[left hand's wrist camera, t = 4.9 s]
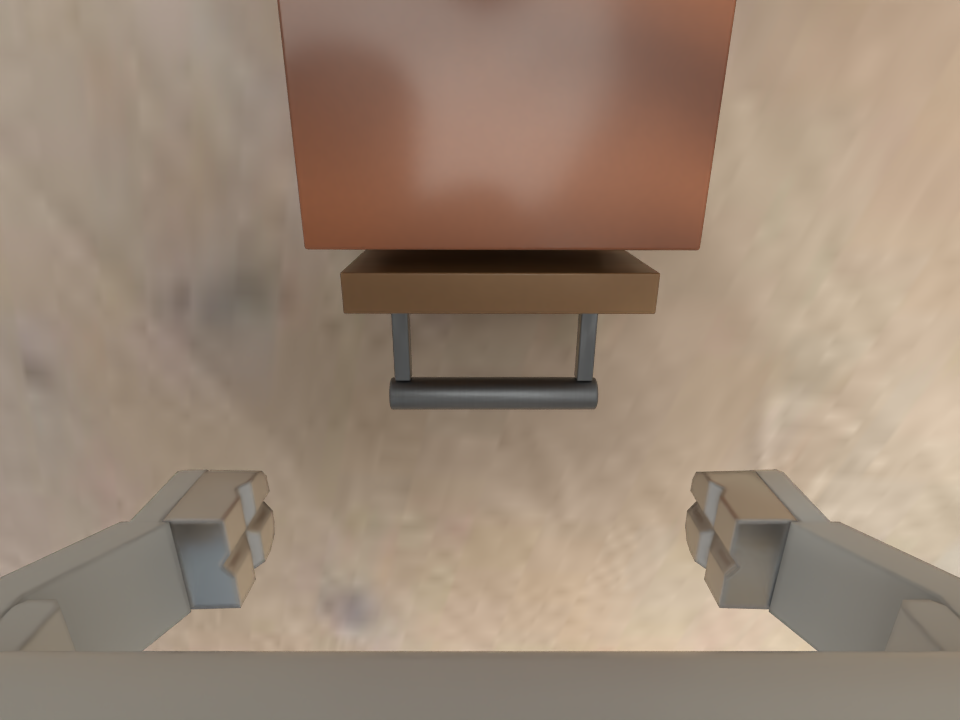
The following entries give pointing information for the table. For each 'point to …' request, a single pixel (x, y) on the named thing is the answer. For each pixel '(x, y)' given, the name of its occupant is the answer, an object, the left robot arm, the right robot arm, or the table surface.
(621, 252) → the drawer
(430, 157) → the cabinet
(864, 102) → the table surface
